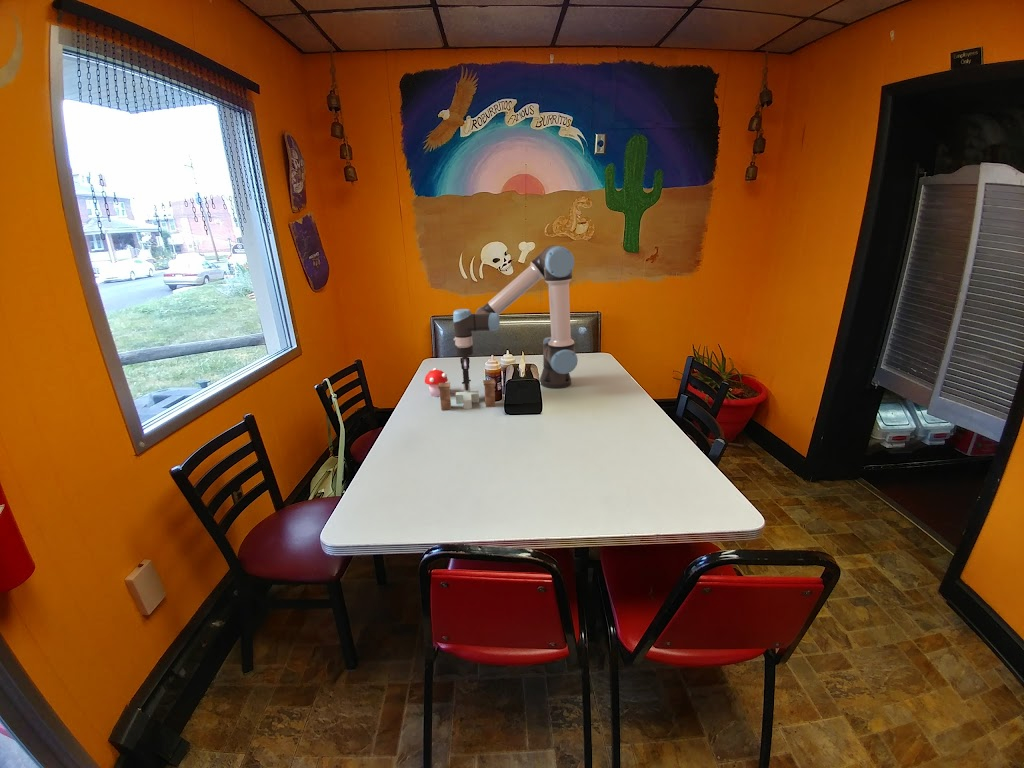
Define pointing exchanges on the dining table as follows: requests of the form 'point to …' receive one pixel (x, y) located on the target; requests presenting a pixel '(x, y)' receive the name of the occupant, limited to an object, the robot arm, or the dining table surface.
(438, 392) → the mushroom
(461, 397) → the t block
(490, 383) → the post
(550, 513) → the dining table surface
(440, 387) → the post
